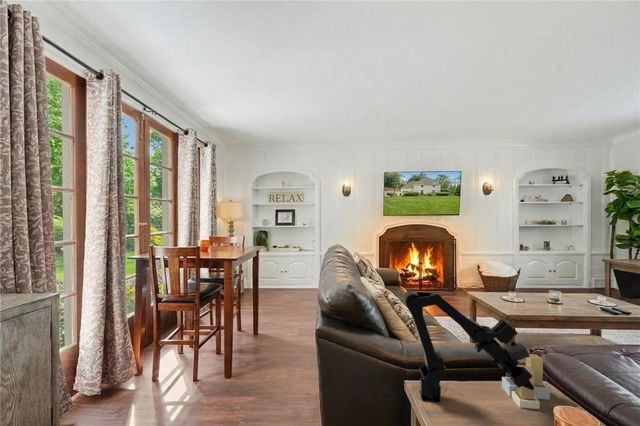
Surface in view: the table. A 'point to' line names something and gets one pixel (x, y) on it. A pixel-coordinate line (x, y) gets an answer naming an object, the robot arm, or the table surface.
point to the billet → (523, 391)
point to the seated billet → (536, 368)
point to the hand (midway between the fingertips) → (529, 384)
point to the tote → (526, 402)
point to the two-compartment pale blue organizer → (538, 391)
